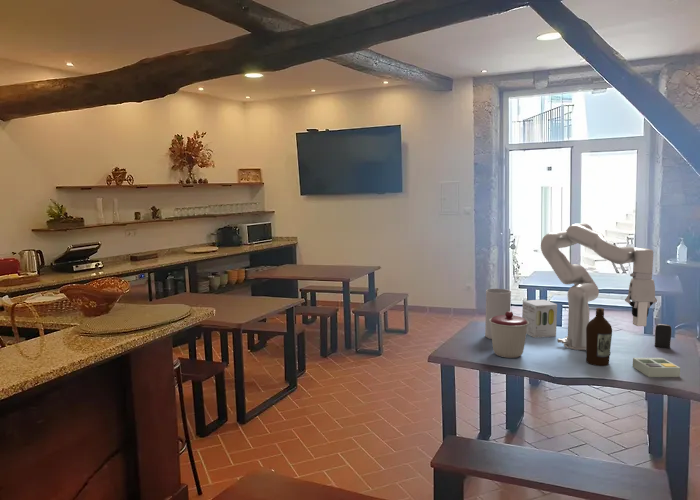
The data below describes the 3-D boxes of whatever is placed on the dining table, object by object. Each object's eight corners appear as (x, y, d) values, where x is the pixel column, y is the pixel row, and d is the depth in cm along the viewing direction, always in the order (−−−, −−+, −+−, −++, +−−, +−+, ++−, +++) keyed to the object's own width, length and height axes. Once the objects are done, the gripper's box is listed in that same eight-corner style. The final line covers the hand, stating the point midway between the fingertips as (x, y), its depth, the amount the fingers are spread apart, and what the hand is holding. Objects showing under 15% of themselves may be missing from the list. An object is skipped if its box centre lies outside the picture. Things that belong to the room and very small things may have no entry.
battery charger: (670, 346, 266) (671, 324, 265) (670, 348, 263) (672, 325, 262) (653, 344, 270) (655, 322, 268) (654, 346, 266) (655, 324, 265)
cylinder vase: (512, 340, 278) (513, 293, 275) (488, 340, 278) (489, 293, 275) (505, 333, 291) (507, 288, 288) (482, 334, 291) (483, 288, 288)
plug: (637, 326, 240) (639, 295, 239) (632, 323, 244) (634, 293, 243) (646, 326, 240) (648, 295, 239) (641, 323, 244) (643, 293, 243)
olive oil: (579, 359, 247) (582, 306, 244) (599, 358, 249) (602, 305, 246) (595, 367, 236) (597, 311, 233) (615, 365, 239) (618, 310, 236)
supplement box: (534, 338, 283) (535, 305, 281) (521, 331, 295) (522, 300, 293) (556, 336, 285) (558, 304, 283) (543, 330, 298) (544, 299, 296)
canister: (486, 358, 249) (487, 314, 247) (490, 347, 266) (491, 306, 264) (527, 362, 243) (528, 317, 241) (528, 351, 260) (530, 308, 258)
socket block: (648, 377, 224) (649, 367, 224) (632, 366, 237) (633, 357, 237) (679, 376, 224) (680, 366, 224) (661, 366, 237) (662, 357, 237)
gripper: (627, 277, 236) (625, 318, 238) (665, 277, 236) (663, 318, 238) (619, 274, 244) (617, 314, 246) (656, 274, 243) (653, 314, 246)
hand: (639, 315), depth 242 cm, fingers closed on plug, 4 cm apart
